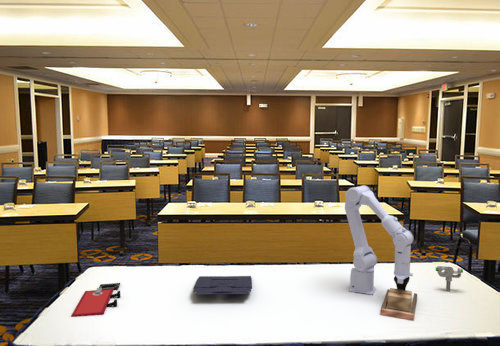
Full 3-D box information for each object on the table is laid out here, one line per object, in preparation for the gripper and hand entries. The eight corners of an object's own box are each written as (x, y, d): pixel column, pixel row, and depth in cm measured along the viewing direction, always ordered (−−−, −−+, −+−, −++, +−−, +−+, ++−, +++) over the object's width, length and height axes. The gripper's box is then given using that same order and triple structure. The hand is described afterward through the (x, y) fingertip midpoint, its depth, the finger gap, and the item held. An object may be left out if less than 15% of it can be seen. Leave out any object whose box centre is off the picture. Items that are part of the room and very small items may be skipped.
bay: (380, 314, 155) (380, 309, 154) (387, 293, 174) (387, 289, 173) (413, 320, 150) (413, 315, 150) (417, 298, 169) (417, 293, 169)
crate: (387, 307, 160) (387, 294, 159) (389, 300, 167) (390, 286, 166) (409, 311, 156) (410, 297, 156) (411, 303, 164) (412, 290, 163)
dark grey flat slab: (190, 301, 164) (190, 292, 164) (198, 282, 194) (198, 274, 194) (252, 300, 164) (252, 291, 164) (251, 281, 194) (251, 273, 194)
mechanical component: (462, 292, 174) (463, 269, 173) (435, 291, 176) (436, 267, 175) (460, 290, 177) (461, 267, 176) (434, 288, 179) (435, 265, 178)
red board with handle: (125, 284, 185) (89, 287, 183) (124, 278, 185) (89, 281, 183) (114, 315, 156) (71, 319, 154) (113, 308, 156) (71, 311, 153)
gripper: (412, 268, 157) (410, 303, 158) (414, 257, 170) (413, 290, 171) (392, 266, 160) (391, 300, 161) (396, 255, 173) (394, 287, 174)
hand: (401, 295), depth 166 cm, fingers closed
